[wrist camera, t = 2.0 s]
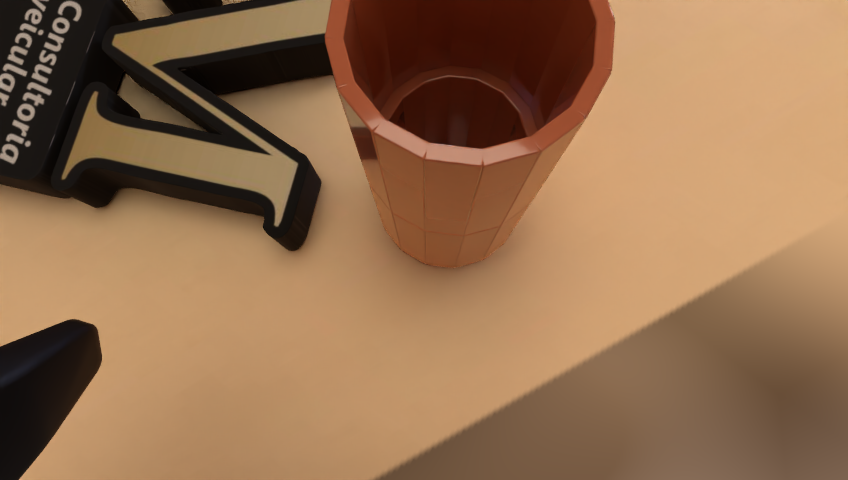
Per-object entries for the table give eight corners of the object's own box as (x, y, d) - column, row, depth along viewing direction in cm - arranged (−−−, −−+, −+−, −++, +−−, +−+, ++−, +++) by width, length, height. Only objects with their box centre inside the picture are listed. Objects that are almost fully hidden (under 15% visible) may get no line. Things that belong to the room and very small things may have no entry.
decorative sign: (-31, -202, 26) (390, -124, 25) (9, -153, 28) (394, -80, 27) (-194, 134, 22) (287, 241, 21) (-132, 156, 25) (302, 253, 24)
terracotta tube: (475, 295, 23) (531, 218, 11) (353, 226, 24) (270, 77, 11) (541, 177, 25) (662, -19, 12) (422, 114, 25) (417, -136, 13)
